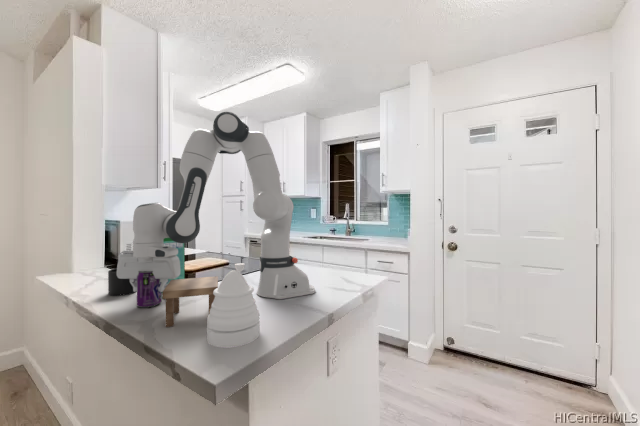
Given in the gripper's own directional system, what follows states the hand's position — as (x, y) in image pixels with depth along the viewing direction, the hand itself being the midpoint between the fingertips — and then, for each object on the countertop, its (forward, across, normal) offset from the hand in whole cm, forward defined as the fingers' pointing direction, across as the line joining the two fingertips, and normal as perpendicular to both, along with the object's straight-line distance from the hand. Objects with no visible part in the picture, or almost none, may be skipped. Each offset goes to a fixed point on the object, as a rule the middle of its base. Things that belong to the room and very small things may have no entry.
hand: (148, 291), depth 95 cm
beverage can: (+5, 0, 0) cm, 5 cm away
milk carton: (+5, -4, +20) cm, 21 cm away
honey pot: (+5, +37, -22) cm, 43 cm away
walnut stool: (+5, +20, -9) cm, 22 cm away
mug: (+5, -18, +14) cm, 24 cm away
